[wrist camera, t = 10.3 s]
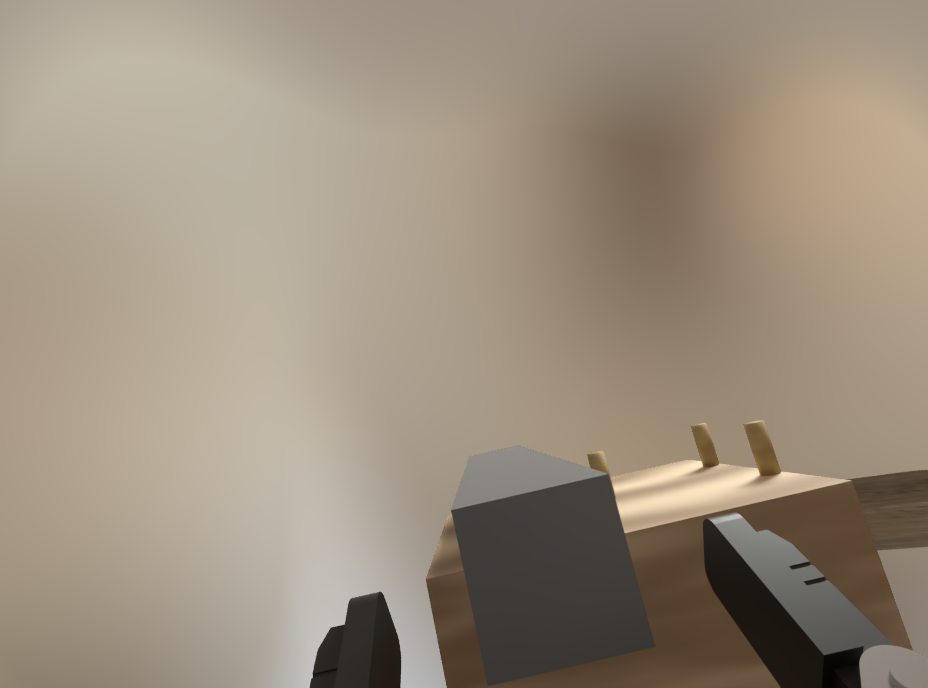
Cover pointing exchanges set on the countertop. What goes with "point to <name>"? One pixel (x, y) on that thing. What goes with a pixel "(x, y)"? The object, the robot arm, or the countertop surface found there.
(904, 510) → the countertop surface
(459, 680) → the oak block
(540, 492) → the bar
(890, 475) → the countertop surface
